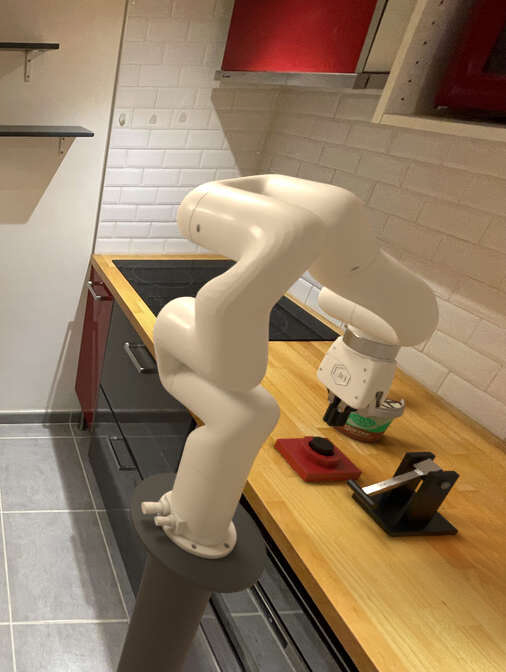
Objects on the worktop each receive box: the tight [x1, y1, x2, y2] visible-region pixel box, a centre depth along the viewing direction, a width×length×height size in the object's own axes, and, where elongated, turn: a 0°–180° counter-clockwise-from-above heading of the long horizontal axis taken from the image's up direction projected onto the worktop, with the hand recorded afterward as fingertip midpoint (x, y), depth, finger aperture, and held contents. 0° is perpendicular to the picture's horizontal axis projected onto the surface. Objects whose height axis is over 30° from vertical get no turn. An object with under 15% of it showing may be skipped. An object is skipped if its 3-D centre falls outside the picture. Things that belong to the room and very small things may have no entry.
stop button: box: [310, 436, 335, 456], centre depth 89 cm, size 4×4×2 cm
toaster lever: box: [345, 459, 444, 510], centre depth 76 cm, size 13×5×2 cm, turn 92°
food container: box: [332, 398, 406, 444], centre depth 96 cm, size 12×6×10 cm, turn 65°
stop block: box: [274, 435, 363, 483], centre depth 90 cm, size 11×9×4 cm
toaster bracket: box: [351, 451, 461, 538], centre depth 77 cm, size 12×8×13 cm, turn 92°
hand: (333, 423), depth 86 cm, fingers closed
